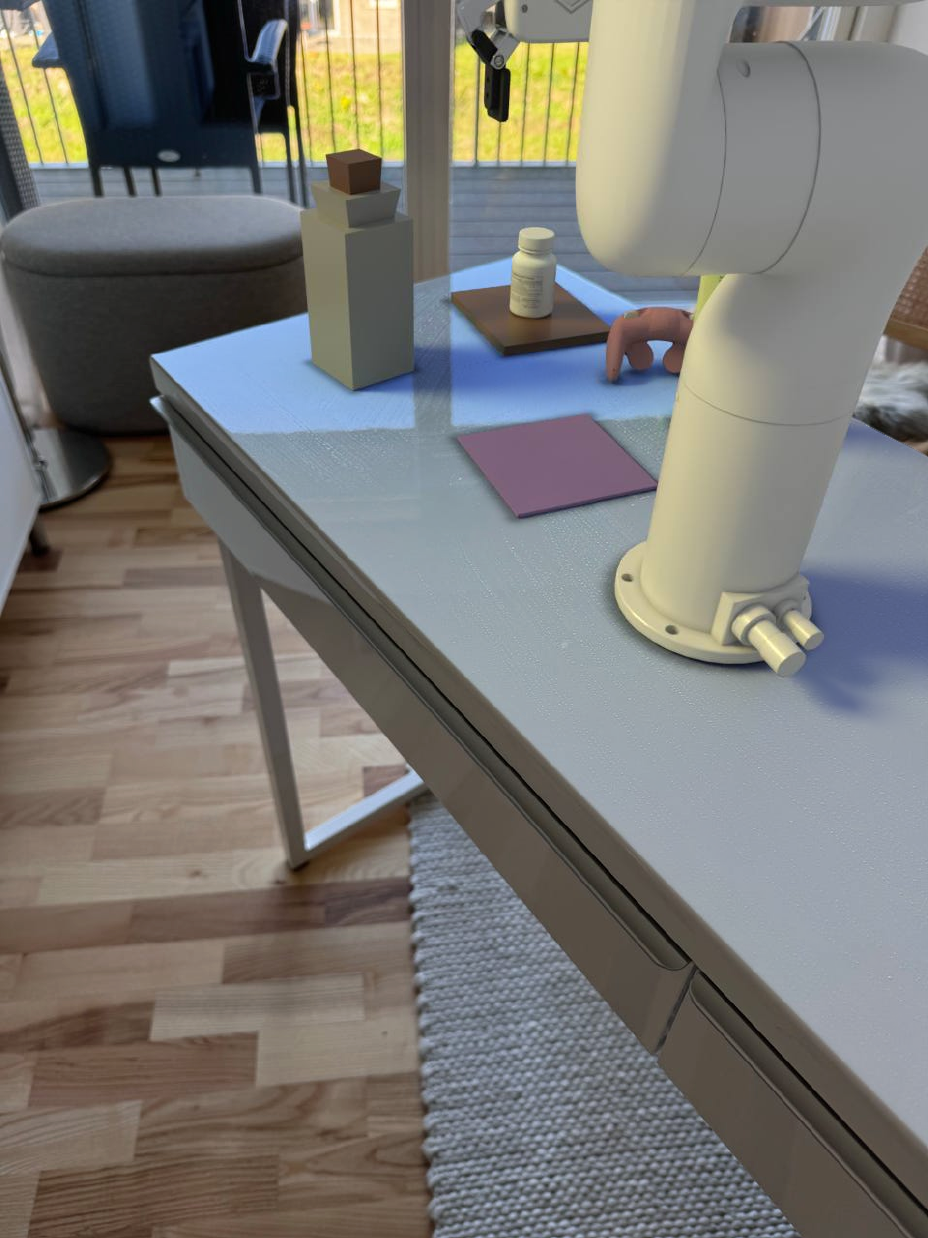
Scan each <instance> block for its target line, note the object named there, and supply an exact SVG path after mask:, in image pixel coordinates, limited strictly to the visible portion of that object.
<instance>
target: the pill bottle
mask: <svg viewBox="0 0 928 1238" xmlns="http://www.w3.org/2000/svg"><path fill="white" fill-rule="evenodd" d="M555 236H556V234H555V232H554V231H553V230H551V229H549V228H545V227H538V226H536V227H535V226H533V227H531V226H530V227H525V228H522V229H521V230H519V234H518V245H517V247H518V249H519V251H517V252H516V253H514V255H513V256H512V261H511V276H510V285H511V291H510V310H511V312H513V313H514V314H516V315H518V316H521V317H525V318H541V317H545V316H547V315H549V314H550V313H551V312H552V309H553V298H554V287H555V282H556V277H557V264H558V261H557V257H556V255H555V254H554V253H552V251H554V246H555V239H556V238H555Z"/></svg>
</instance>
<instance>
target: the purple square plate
mask: <svg viewBox="0 0 928 1238" xmlns="http://www.w3.org/2000/svg"><path fill="white" fill-rule="evenodd" d="M456 437H457V438H456V439H457V441H458V442H459V443H460V445H461V446H462V447H463V449H464V450H465V451H466V452H467V454H468V456H470V458H471V459H472V461H473V462H474V463H475V464H476V466H477V467H478V468H479V469H480V471H481V472H482V474H483V476H485V477H486V478H487V480H488V481H489V482H490V484H491V485H492V486H493V488H494V489H495V491H496V492H497V493H498V495H499V496H500V498H502V499H503V501H504V502H505V504H506V505H507V507H509V508H510V510H511V511H512V512H513V514H514V515H515V517H516V518H518V519H519V518H524V517H529V516H534V515H538V514H542V513H548V512H552V511H557V510H562V509H566V508H571V507H577V506H581V505H585V504H591V503H594V502H599V501H604V500H609V499H614V498H619V497H624V496H628V495H629V496H630V495H632V494H637V493H643V492H648V491H652V490H657V487H658V483H657V482H656V480H655V479H654V478H653V477H652V476H650V474H649V473H647V471H646V470H644V468H642V467H641V466H640V464H639V463H637V462H636V460H634V458H633V457H631V456H630V454H628V453H627V451H625V449H623V448H622V447H621V446H620V445H619V444H618V443H617V442H616V441H615V440H614V438H613V437H611V436H610V435H609V434H608V433H607V432H606V431H605V430H604V429H603V428H602V427H601V426H600V425H599V424H598V423H597V422H596V421H595V420H594V419H593V418H592V417H591V416H590V415H589V414H588V413H581V414H576V415H571V416H564V417H559V418H554V419H553V418H552V419H546V420H542V421H535V422H531V423H525V424H519V425H514V426H507V427H502V428H496V429H491V430H484V431H479V432H475V433H468V434H463V435H457V436H456Z"/></svg>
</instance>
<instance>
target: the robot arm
mask: <svg viewBox="0 0 928 1238" xmlns="http://www.w3.org/2000/svg"><path fill="white" fill-rule="evenodd" d="M925 1H926V0H462V1H460V2H459V3H458V4H457V6H456V14H457V17H458V20H459V22H460V24H461V27H462V30H463V32H464V33H465V38H466V42H467V43H468V45H469V46H470V47H471V48H472V50H473V51H474V52H475V54H476V55H477V56H478V57H479V59H480V62H481V63H482V64H484V84H483V85H484V86H483V105H484V109H486V113H487V116H488V117H490V118H491V119H493V120H495V121H497V122H498V123H506V122H507V121H509V118H510V117H509V116H510V102H511V101H510V100H511V98H510V97H511V81H512V79H511V78H512V72H511V69H510V68H507V62H508V61H509V59H510V57H511V56H513V54H514V52H515V51H516V49H517V48H518V47H519V45H520V44H521V43H525V44H531V45H533V44H535V45H536V44H537V45H538V44H539V45H540V44H541V45H542V44H564V43H565V44H567V43H573V44H574V43H588V46H587V47H588V48H587V56H586V64H585V74H584V84H583V92H582V100H581V110H580V118H579V127H578V128H579V129H578V138H577V151H576V162H575V204H576V205H575V206H576V208H575V209H576V215H577V223H578V226H579V227H578V228H579V230H580V234H581V238H582V240H583V242H584V244H585V247H586V249H587V250H588V252H589V253H590V255H591V256H592V257H593V259H594V260H595V262H597V264H600V265H601V266H602V267H603V268H605V269H607V270H608V271H611V272H613V273H615V274H619V275H623V276H628V277H634V278H635V277H636V278H683V277H685V278H686V277H701V276H705V275H724V274H726V275H725V276H724V278H723V279H722V280H721V282H720V283H719V284H718V286H717V287H716V289H715V290H714V291H713V293H712V294H711V296H710V297H709V299H708V300H707V302H706V303H705V305H704V306H703V308H702V310H701V312H700V314H699V316H698V318H697V320H696V322H695V324H694V326H693V328H692V331H691V333H690V336H689V339H688V342H687V346H686V349H685V354H684V359H683V364H682V368H681V372H679V378H678V382H677V388H676V393H675V397H674V402H673V407H672V413H671V417H670V423H669V427H668V432H667V438H666V442H665V447H664V452H663V457H662V463H661V468H660V473H659V477H658V483H657V484H658V487H657V489H656V492H655V499H654V502H653V503H654V504H653V508H652V512H651V517H650V523H649V528H648V532H647V537H646V539H645V540H643V541H640V542H639V543H638V544H636V545H634V546H633V547H632V548H631V549H629V550H628V551H627V552H626V553H625V555H624V556H622V558H621V560H620V561H619V564H618V566H617V569H616V573H615V578H614V583H613V584H614V597H615V601H616V603H617V605H618V608H619V610H620V611H621V613H622V614H623V616H624V617H625V619H626V620H627V621H628V622H629V623H630V624H631V625H632V626H633V627H634V628H635V630H636V631H638V632H639V633H640V634H642V635H643V636H644V637H646V639H647V638H648V639H649V640H650V641H651V642H653V643H655V644H657V645H659V646H661V647H662V648H663V649H666V650H668V651H671V652H674V653H677V654H679V655H681V656H684V657H687V658H691V659H695V660H699V661H702V662H708V663H715V664H716V663H717V664H724V665H726V664H727V665H728V664H729V665H730V664H731V665H732V664H734V665H735V664H751V663H756V662H765V663H766V664H767V665H768V666H769V667H770V668H771V669H772V670H773V671H774V673H775V674H777V676H778V677H781V678H788V677H790V676H792V675H794V674H796V673H797V672H798V671H799V670H801V669H802V668H803V666H804V665H805V663H806V661H807V654H806V653H805V652H804V650H802V649H801V648H800V647H799V646H798V645H797V643H799V644H800V645H801V646H802V647H803V648H804V649H805V650H806V651H812V650H814V649H816V648H817V647H819V646H820V645H821V644H822V643H823V641H824V640H825V634H824V633H823V632H822V631H821V630H820V629H819V628H818V627H817V626H816V625H815V624H814V623H813V622H812V621H811V620H810V619H811V616H812V599H811V595H810V592H809V590H808V589H809V586H810V583H811V582H810V581H809V580H808V579H807V578H806V577H805V576H804V575H803V574H802V573H801V572H800V570H801V567H802V563H803V562H804V558H805V555H806V553H807V550H808V547H809V543H810V540H811V539H812V538H811V537H812V535H813V532H814V528H815V526H816V524H817V520H818V518H819V514H820V511H821V509H822V506H823V503H824V500H825V498H826V494H827V491H828V488H829V485H830V483H831V479H832V476H833V475H834V470H835V468H836V464H837V461H838V460H839V456H840V452H841V450H842V448H843V445H844V443H845V438H846V436H847V432H848V430H849V428H850V424H851V422H852V418H853V415H854V413H855V410H856V407H857V404H858V403H859V400H860V397H861V394H862V391H863V388H864V385H865V382H866V380H867V377H868V374H869V371H870V368H871V366H872V363H873V360H874V357H875V354H876V352H877V349H878V346H879V344H880V341H881V339H882V336H883V334H884V332H885V330H886V327H887V325H888V322H889V319H890V317H891V315H892V312H893V310H894V308H895V306H896V304H897V302H898V300H899V297H900V295H901V294H902V292H903V290H904V287H905V286H906V284H907V282H908V281H909V278H910V276H911V275H912V273H913V271H914V269H915V268H916V266H917V264H918V262H919V260H920V259H921V257H922V255H923V254H924V252H925V250H926V248H927V246H928V54H926V53H924V52H922V51H919V50H917V49H915V48H911V47H909V46H904V45H900V44H895V43H891V42H880V41H872V40H777V41H772V42H726V41H727V38H728V36H729V32H730V30H731V27H732V25H733V23H734V22H735V20H736V17H737V15H738V13H739V11H740V10H741V9H742V8H747V7H769V8H771V7H774V8H775V7H777V8H778V7H784V8H785V7H789V8H791V7H792V8H793V7H795V8H796V7H797V8H799V7H802V8H804V7H805V8H806V7H807V8H809V7H810V8H811V7H818V8H820V7H822V8H824V7H825V8H826V7H827V8H828V7H829V8H830V7H831V8H834V7H835V8H838V7H839V8H840V7H841V8H842V7H844V8H845V7H846V8H849V7H850V8H851V7H853V8H854V7H855V8H856V7H884V6H900V5H906V4H914V3H921V2H925ZM490 8H492V21H493V27H494V29H495V30H494V31H493V33H491V35H490V36H489V35H488V34H487V33H486V32H485V31H484V29H483V25H482V24H483V23H482V22H481V16H482V14H484V13H485V12H486V11H488V10H489V9H490Z"/></svg>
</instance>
